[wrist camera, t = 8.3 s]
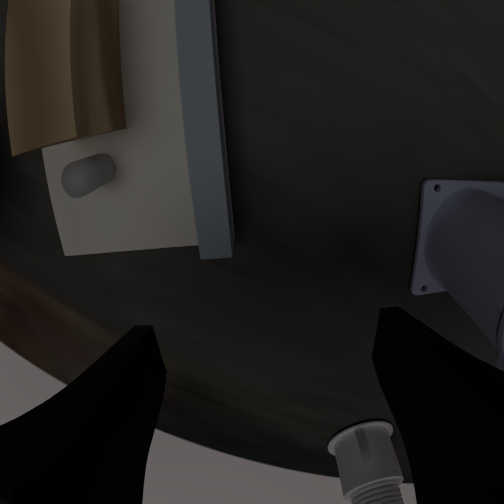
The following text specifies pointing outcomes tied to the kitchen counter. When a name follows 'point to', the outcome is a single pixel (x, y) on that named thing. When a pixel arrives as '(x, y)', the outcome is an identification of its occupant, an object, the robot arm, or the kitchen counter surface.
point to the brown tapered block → (62, 71)
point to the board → (152, 144)
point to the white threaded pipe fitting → (368, 464)
